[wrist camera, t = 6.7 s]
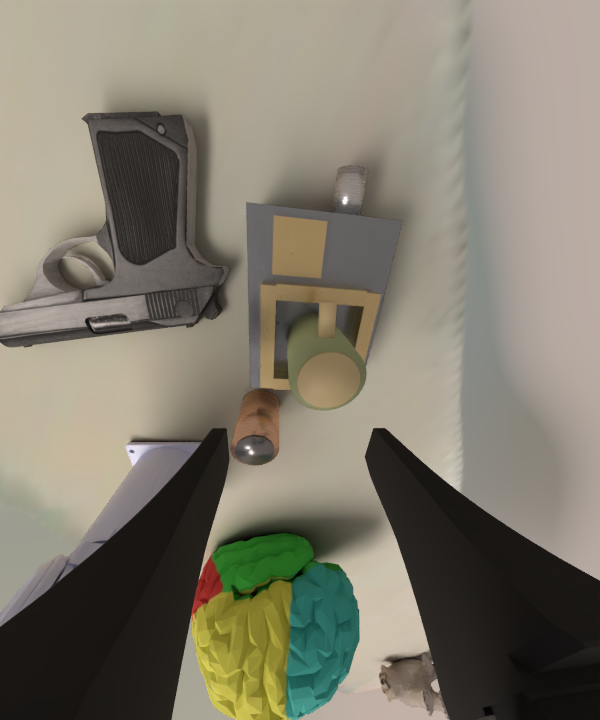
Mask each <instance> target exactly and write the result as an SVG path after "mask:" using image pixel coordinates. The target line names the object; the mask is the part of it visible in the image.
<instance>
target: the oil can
mask: <svg viewBox="0 0 600 720" xmlns="http://www.w3.org/2000/svg"><path fill="white" fill-rule="evenodd" d="M336 310H337V302H336V301H320V302H319V313H308V314H305V315H302V316H300V317H299V318H297V319H296V320H295V321H294V322H293V323H292V324H291V326H290V327H289V329H288V332H287V357H288V375H289V386H290V390H291V392H292V394H293V396H294V397H295V398H296V399H297V401H299V402H300V403H301V404H303V405H304V406H306V407H308V408H311V409H315V410H332V409H336V408H339V407H342V406H344V405H346V404H348V403H349V402H351V401H352V400H353V399H354V398H355V397H356V396H357V395H358V394H359V393H360V391H361V390H362V388H363V386H364V383H365V380H366V367H365V363H364V361H363V359H362V357H361V356H360V355H359V354H358V352H357V351H356V350H355V348H354V347H353V346H352V345H351V343H350V342H349V341H348V339H347V338H346V337H345V336H344V334H343V333H342V332H341V331H340V329H339V328H338V327H337V325H336V324H335V323H336Z"/></svg>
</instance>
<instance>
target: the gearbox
mask: <svg viewBox="0 0 600 720" xmlns="http://www.w3.org/2000/svg"><path fill="white" fill-rule="evenodd" d="M367 174H368V170H367V169H365V168H363V167H360V166H343V167H340V168H339V169H338V170H337V177H336V185H335V193H334V201H333V209H332V212H324V211H315V210H307V209H298V208H290V207H282V206H273V205H265V204H256V203H248V202H246V209H247V254H248V299H249V344H250V388H273V390H290V386H289V375H288V357H287V332H288V329H289V327H290V326H291V324H292V323H293V322H294V321H295V320H296V319H297V318H299V317H300V316H302V315H305V314H308V313H319V302H320V301H336V302H337V310H336V323H335V324H336V325H337V327H338V328H339V329H340V331H341V332H342V333H343V334H344V336H345V337H346V338H347V339H348V341H349V342H350V343H351V345H352V346H353V347H354V348H355V350H356V351H357V352H358V354H359V355H360V356H361V357H362V359H363V361H364V363H365V367H366V364H367V360H368V356H369V352H370V348H371V344H372V340H373V336H374V332H375V328H376V324H377V320H378V316H379V312H380V308H381V305H382V301H383V297H384V293H385V289H386V285H387V281H388V277H389V273H390V269H391V265H392V261H393V257H394V253H395V249H396V245H397V241H398V237H399V233H400V229H401V225H402V221H399V220H391V219H383V218H374V217H366V216H360V214H361V208H362V203H363V197H364V191H365V185H366V180H367Z"/></svg>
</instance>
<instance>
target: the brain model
mask: <svg viewBox="0 0 600 720" xmlns="http://www.w3.org/2000/svg"><path fill="white" fill-rule="evenodd" d="M313 558H314V552H313V548H312V547H311V545H310V543H309V541H308V540H306V539H305V538H303V537H299V536H297V535H295V534H288V533H278V534H273V535H268V536H260V537H254V538H252V539H250V540H248V541H241V540H240V541H237V542H235V543H232V544H227V545H224V546H221V547H219V548H218V550H217V551H216V552H215V553H213V554H212V555H211V556H210V558H209V560H208V561H207V563H206V565H205V566H204V568H203V572H202V575H201V577H200V579H199V582H198V585H197V590H196V594H195V599H194V604H193V609H192V614H191V616H192V635H193V638H194V641H195V648H196V654H197V658H198V663H199V668H200V670H201V672H202V674H203V676H204V678H205V680H206V681H205V682H206V686H207V690H208V693H209V697H210V699H211V701H212V703H213V705H214V707H215V708H217V709H218V710H219V711H221V712H222V713H224V714H225V715H227V716H229V717H232V718H234V719H237V720H297V719H299V718H301V717H302V716H303V715H305V714H310V713H312V712H313V711H315V710H316V709H318V708H320V707H321V706H323V705H324V704H326V703H327V702H329V701H330V700H331V698H332V697H333V695H334V694H335V692H336V690H337V688H338V684H341V683H342V681H343V680H344V679H345V677H346V676H347V675H348V673H349V670H350V667H351V663H352V660H353V656H354V653H355V650H356V647H357V645H358V642H359V609H358V605H357V600H356V598H355V596H354V595H353V586H352V584H351V582H350V580H349V578H347V576H346V573H345V572H344V571H343V570H342V568H341V567H340V566H339V565H338V564H332V563H327V562H326V563H319V562H317V561H313Z"/></svg>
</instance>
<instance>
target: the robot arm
mask: <svg viewBox="0 0 600 720" xmlns="http://www.w3.org/2000/svg"><path fill="white" fill-rule="evenodd" d="M126 450H127V452H128V455H129V457H130V460H131V463H132V465H133V468H132V469H131V470H130V472H129V473H128V475H127V476H126V478H125V479H124V480H123V482H122V483H121V485H120V486H119V488H118V489H117V490H116V492H115V493H114V495H113V496H112V497H111V499H110V500H109V502H108V503H107V505H106V506H105V507H104V509H103V510H102V512H101V513H100V515H99V516H98V517H97V519H96V520H95V522H94V523H93V524H92V526H91V527H90V529H89V530H88V532H87V533H86V534H85V536H84V537H83V539H82V540H81V542H80V543H79V544H78V546H77V547H76V549H75V550H74V551H73V552H72V553H71V554H70V555H69V556H68V557H67V556H64V555H58V556H56V557H55V558H54V559H52V560H49V561H47V562H45V563H43V564H42V565H40V566H39V567H38V568H37V569H36V570H35V572H34V573H33V574H32V575H31V576H30V577H29V579H28V580H27V581H26V582H25V583H24V584H23V586H22V587H21V588H20V589H19V590H18V591H17V593H16V594H15V595H14V596H13V597H12V599H11V600H10V601H9V602H8V604H7V605H6V606H5V607H4V608H3V610H2V611H1V612H0V720H171V719H172V713H173V707H174V701H175V696H176V691H177V686H178V681H179V675H180V670H181V664H182V659H183V654H184V649H185V644H186V638H187V634H188V629H189V623H190V619H191V614H192V609H193V604H194V599H195V594H196V590H197V585H198V580H199V576H200V571H201V566H202V562H203V557H204V553H205V549H206V545H207V541H208V538H209V534H210V531H211V528H212V524H213V521H214V518H215V514H216V511H217V508H218V504H219V501H220V498H221V494H222V491H223V488H224V484H225V480H226V475H227V470H228V464H229V449H228V438H227V428H213V429H212V430H211V431H210V432H209V433H208V435H207V436H206V437H205V439H204V440H203V441H202V442H129V443H128V444H127V445H126ZM365 459H366V463H367V466H368V470H369V473H370V476H371V479H372V481H373V484H374V486H375V489H376V491H377V494H378V496H379V498H380V501H381V503H382V505H383V508H384V510H385V512H386V515H387V517H388V519H389V522H390V524H391V527H392V529H393V532H394V534H395V537H396V539H397V542H398V545H399V548H400V551H401V554H402V557H403V560H404V563H405V566H406V569H407V573H408V576H409V579H410V582H411V585H412V589H413V592H414V595H415V598H416V602H417V605H418V609H419V612H420V616H421V619H422V623H423V626H424V630H425V633H426V637H427V641H428V645H429V648H430V652H431V656H432V660H433V664H434V667H435V671H436V675H437V679H438V683H439V687H440V691H441V695H442V700H443V702H444V705H445V708H446V711H447V713H448V716H449V719H450V720H600V581H599V580H598V579H596V578H594V577H592V576H590V575H589V574H587V573H585V572H583V571H581V570H580V569H578V568H576V567H574V566H572V565H571V564H569V563H567V562H565V561H563V560H562V559H560V558H558V557H557V556H555V555H553V554H551V553H550V552H548V551H547V550H545V549H543V548H542V547H540V546H538V545H537V544H535V543H533V542H532V541H530V540H528V539H527V538H525V537H524V536H522V535H520V534H519V533H517V532H516V531H514V530H513V529H511V528H510V527H508V526H506V525H505V524H504V523H502V522H501V521H499V520H497V519H496V518H495V517H493V516H492V515H490V514H488V513H487V512H485V511H484V510H483V509H481V508H480V507H479V506H477V505H476V504H474V503H473V502H472V501H470V500H469V499H468V498H466V497H465V496H464V495H462V494H461V493H460V492H458V491H457V490H456V489H454V488H453V487H452V486H451V485H449V484H448V483H447V482H446V481H444V480H443V479H442V478H441V477H439V476H438V475H437V474H436V473H435V472H433V471H432V470H431V469H430V468H429V467H428V466H426V465H425V464H424V463H423V462H422V461H421V460H420V459H418V458H417V457H416V456H415V455H414V454H413V453H412V452H411V451H410V450H408V449H407V448H406V447H405V446H404V445H403V444H402V443H401V442H400V441H399V440H398V439H397V438H395V437H394V436H393V435H392V434H391V433H390V432H389V431H388V430H386V429H385V428H373V432H372V435H371V438H370V441H369V445H368V448H367V451H366V455H365Z"/></svg>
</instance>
